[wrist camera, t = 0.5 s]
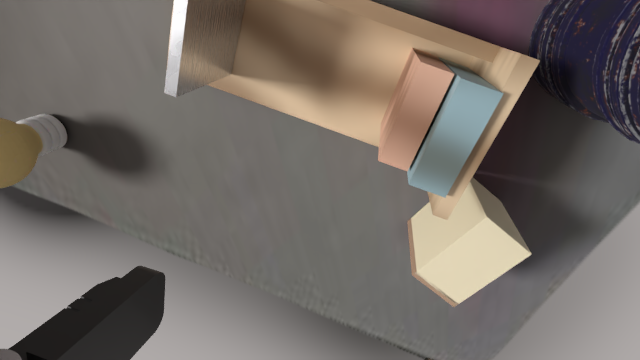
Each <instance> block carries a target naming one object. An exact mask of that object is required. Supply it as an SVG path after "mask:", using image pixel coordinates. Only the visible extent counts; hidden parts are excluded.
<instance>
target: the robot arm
mask: <svg viewBox="0 0 640 360" xmlns="http://www.w3.org/2000/svg"><path fill="white" fill-rule="evenodd" d="M164 295H165V275H164V274H163V273H162V272H159V271H155V270H152V269H149V268H146V267H143V266H137V267H136V268H134V269H133V270H131V271H130V272H129V273H128V274H126V275H125V276H124V277H122V278H118V277H115V278H112V279H110V280H108V281H105V282H103V283H100V284H98V285H96V286H95V287H93V288H92V289H90V290H89V291H88V292H87V293H85V294H84V295H82V296H81V298H80V299H77V300H75V301H74V302H73V303H71V304H70V305H69V306H68V307H67V309H63V310H62V311H60V312H59V313H58V314H56V315H55V316H53V317H52V318H51V319H49V320H48V321H47V322H45V323H44V324H42V325H41V326H40V327H39V328H37V329H36V330H34V331H33V332H32V333H30V334H29V335H27V336H26V337H25V338H23V339H22V340H21V341H19V342H18V343H16V344H15V345H14V346H12V347H11V348H9V349H0V360H130V359H131V358H132V357H133V356H134V355H135V353H136V352H137V351H138V350H139V349H140V348H141V347H142V346H143V345H144V344H145V343H146V341H147V340H148V339H149V338H150V337H151V336H152V335H153V334H154V333H155V331H156V330H157V328H158V327H159V325H160V322H161V320H162V317H163V313H164ZM425 360H433V359H430V358H425Z"/></svg>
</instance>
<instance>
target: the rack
mask: <svg viewBox="0 0 640 360" xmlns="http://www.w3.org/2000/svg"><path fill="white" fill-rule="evenodd" d="M173 6H174V1H173ZM172 16H173V10H172ZM171 25H172V20H171ZM170 35H171V29H170ZM169 44H170V39H169ZM168 54H169V48H168ZM539 62H540V60H538V59H535V58H532V57H529V56H526V55H524V54H521V53H518V52H515V51H512V50H509V49H506V48H502V47H500V46H497V45H494V44H491V43H488V42H485V41H483V40H480V39H477V38H474V37H471V36H469V35H466V34H463V33H460V32H457V31H455V30H452V29H449V28H446V27H443V26H440V25H438V24H435V23H432V22H429V21H426V20H424V19H421V18H418V17H415V16H412V15H410V14H407V13H404V12H401V11H398V10H395V9H393V8H390V7H387V6H384V5H381V4H379V3H376V2H373V1H370V0H245V6H244V11H243V16H242V21H241V27H240V32H239V37H238V42H237V48H236V53H235V58H234V63H233V69H232V74H231V75H229V76H226V77H224V78H221V79H219V80H217V81H214V82H212V83H209V84H207V85H209V86H212V87H215V88H218V89H220V90H223V91H226V92H229V93H231V94H234V95H237V96H240V97H242V98H245V99H248V100H251V101H253V102H256V103H259V104H262V105H264V106H267V107H270V108H273V109H275V110H278V111H281V112H284V113H286V114H289V115H292V116H295V117H297V118H300V119H303V120H306V121H308V122H311V123H314V124H317V125H319V126H322V127H325V128H328V129H330V130H333V131H336V132H339V133H341V134H344V135H347V136H350V137H353V138H355V139H358V140H361V141H364V142H366V143H369V144H372V145H375V146H377V147H379V155H378V161H380V162H383V163H386V164H389V165H391V166H394V167H397V168H400V169H402V170H405V171H407V174H408V183H409V185H412V186H414V187H417V188H420V189H422V190H425V191H428V195H429V200H430V205H431V209H432V214H433V215H434V216H437V217H440V218H443V219H445V220H448V218H449V216H450V214H451V213H452V211H453V209H454V208H455V206H456V204H457V203H458V201H459V199H460V197H461V196H462V194H463V192H464V191H465V189H466V187H467V185H468V184H469V182H470V180H471V179H472V177H473V175H474V173H475V172H476V170H477V168H478V167H479V165H480V163H481V161H482V160H483V158H484V156H485V155H486V153H487V151H488V149H489V148H490V146H491V144H492V143H493V141H494V139H495V137H496V136H497V134H498V132H499V131H500V129H501V127H502V125H503V124H504V122H505V120H506V119H507V117H508V115H509V114H510V112H511V110H512V108H513V107H514V105H515V103H516V102H517V100H518V98H519V96H520V95H521V93H522V91H523V90H524V88H525V86H526V84H527V83H528V81H529V79H530V78H531V76H532V74H533V72H534V71H535V69H536V67H537V66H538V64H539ZM167 63H168V58H167ZM166 70H167V67H166Z"/></svg>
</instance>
